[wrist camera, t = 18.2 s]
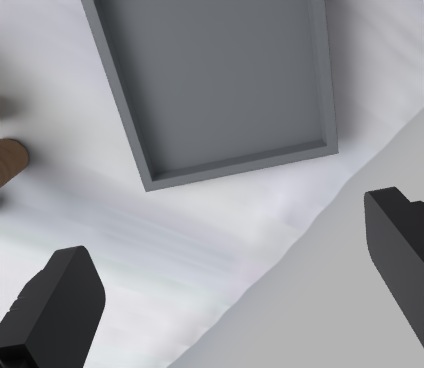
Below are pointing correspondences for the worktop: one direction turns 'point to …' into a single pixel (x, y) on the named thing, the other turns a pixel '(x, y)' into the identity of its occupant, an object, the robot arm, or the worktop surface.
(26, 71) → the worktop surface
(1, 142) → the wooden block set
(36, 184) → the worktop surface
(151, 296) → the worktop surface
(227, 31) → the tray
